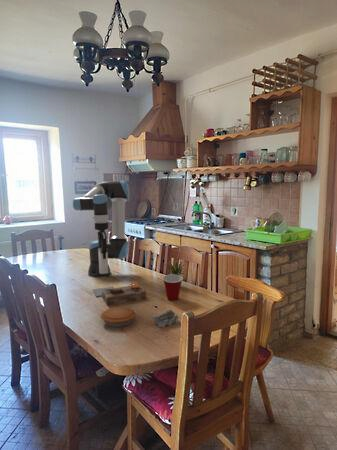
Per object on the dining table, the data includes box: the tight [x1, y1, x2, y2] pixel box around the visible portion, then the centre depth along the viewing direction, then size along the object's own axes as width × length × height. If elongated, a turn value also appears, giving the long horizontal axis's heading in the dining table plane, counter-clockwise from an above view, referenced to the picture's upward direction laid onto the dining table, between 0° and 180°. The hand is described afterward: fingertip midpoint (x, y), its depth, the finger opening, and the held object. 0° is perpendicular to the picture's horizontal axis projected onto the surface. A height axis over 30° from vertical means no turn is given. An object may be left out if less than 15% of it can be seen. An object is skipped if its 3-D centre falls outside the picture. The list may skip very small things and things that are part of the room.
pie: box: [100, 306, 136, 328], centre depth 144 cm, size 16×16×5 cm
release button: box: [130, 282, 140, 290], centre depth 174 cm, size 4×4×6 cm
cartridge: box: [98, 248, 109, 274], centre depth 180 cm, size 5×5×14 cm
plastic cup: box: [162, 273, 184, 302], centre depth 169 cm, size 11×11×12 cm
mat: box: [92, 286, 115, 298], centre depth 183 cm, size 12×12×1 cm
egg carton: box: [152, 309, 180, 328], centre depth 142 cm, size 11×8×4 cm
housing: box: [101, 285, 147, 306], centre depth 172 cm, size 13×21×4 cm, turn 113°
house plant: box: [166, 260, 186, 288], centre depth 188 cm, size 14×14×16 cm
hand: (103, 262), depth 180 cm, fingers closed on cartridge, 5 cm apart
